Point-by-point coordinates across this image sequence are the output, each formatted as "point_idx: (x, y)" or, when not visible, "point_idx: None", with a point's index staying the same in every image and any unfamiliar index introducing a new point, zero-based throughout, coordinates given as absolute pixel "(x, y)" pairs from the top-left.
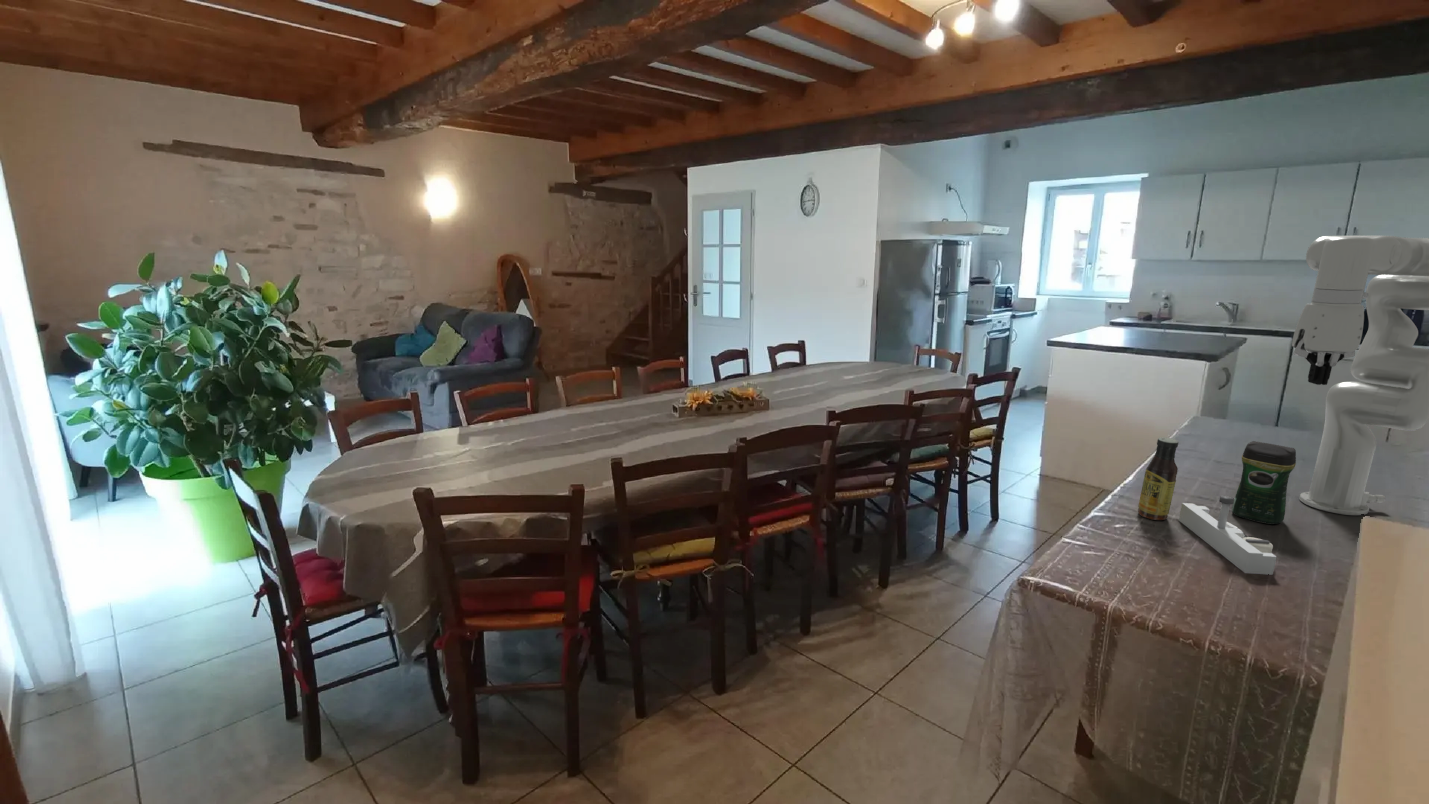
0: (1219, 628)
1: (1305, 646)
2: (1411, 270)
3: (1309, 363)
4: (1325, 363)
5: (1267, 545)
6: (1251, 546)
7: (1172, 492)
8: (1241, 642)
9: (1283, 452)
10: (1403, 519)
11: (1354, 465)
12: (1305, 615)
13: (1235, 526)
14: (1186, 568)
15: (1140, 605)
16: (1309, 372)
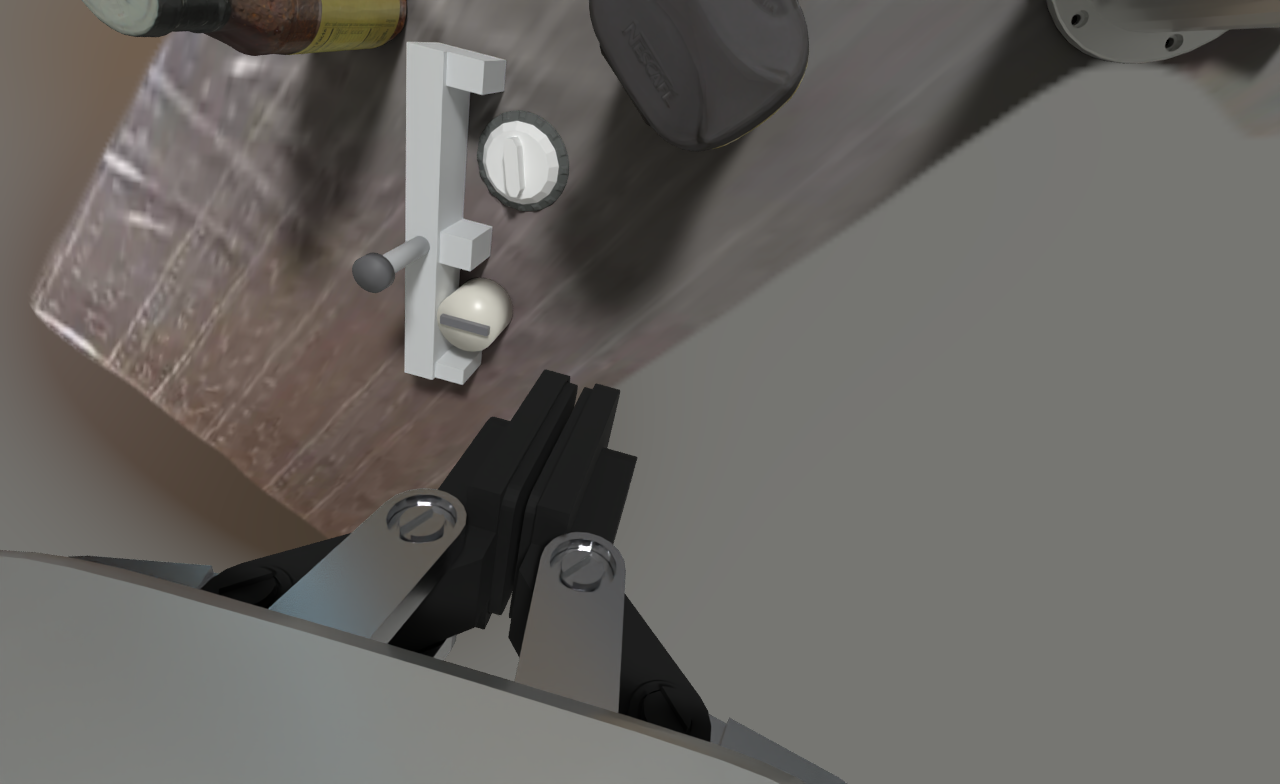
0: (288, 476)
1: None
2: None
3: (408, 506)
4: (512, 626)
5: (479, 339)
6: (429, 348)
7: (337, 44)
8: (302, 504)
9: (683, 126)
10: (1264, 109)
11: (1247, 15)
12: (437, 474)
13: (518, 184)
14: (322, 315)
15: (194, 410)
16: (467, 453)
